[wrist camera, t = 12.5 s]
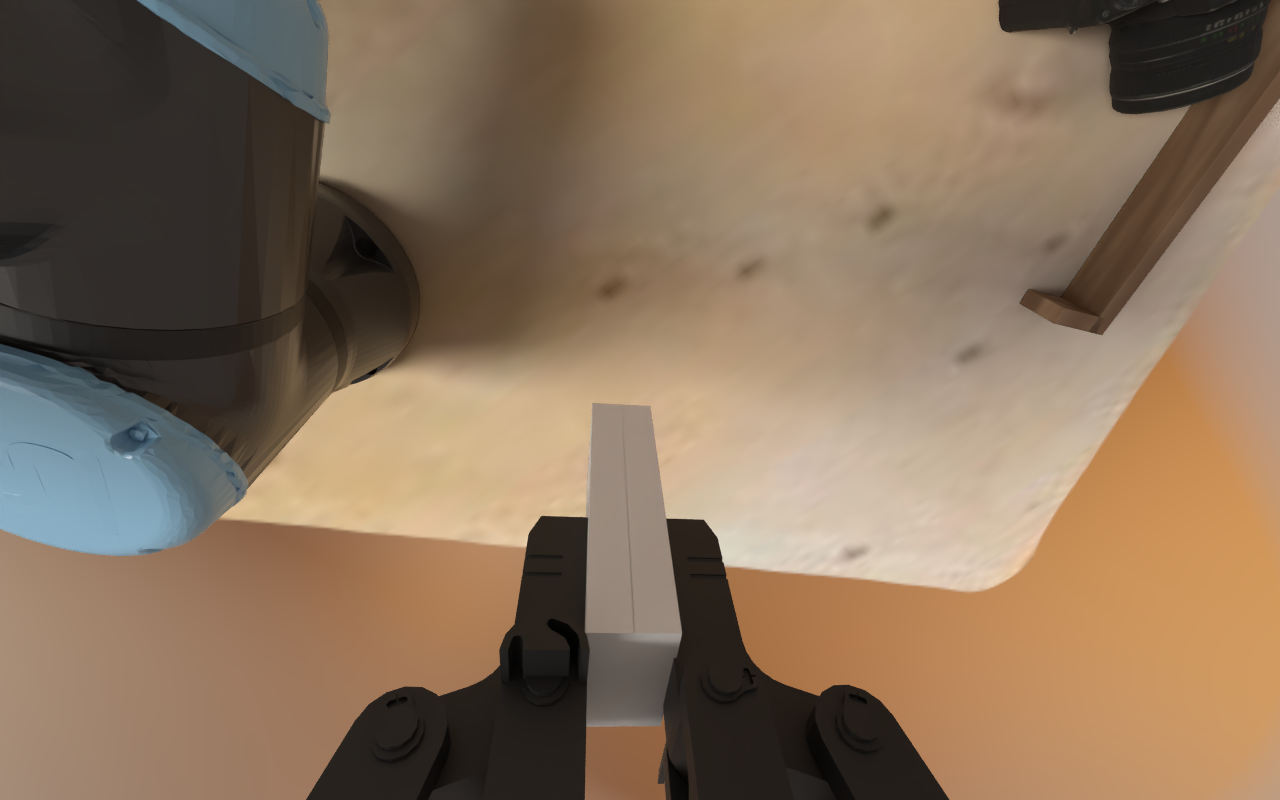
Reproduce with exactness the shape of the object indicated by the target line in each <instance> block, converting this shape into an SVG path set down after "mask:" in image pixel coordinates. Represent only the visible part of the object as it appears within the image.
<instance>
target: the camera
mask: <svg viewBox="0 0 1280 800" xmlns="http://www.w3.org/2000/svg"><path fill="white" fill-rule="evenodd" d="M1270 1H1271V0H999V22H1000V26H1001V28H1002V30H1004V31H1006V32H1013V31H1022V30H1036V29H1046V28H1058V27H1061V28H1067V29H1069V31H1070V34H1073V33H1076V31H1077V29H1078V28H1082V27H1087V26H1096V25H1102V24H1109V25H1110V26H1111V27H1112V33H1111V37H1110V40H1109V47H1110V53H1109V58H1110V63H1111V74H1110V94H1111V97H1112V107H1113V109H1115V110H1116V111H1117V112H1120V113H1124V114H1142V113H1151V112H1160V111H1166V110H1172V109H1177V108H1181V107H1185V106H1189V105H1193V104H1197V103H1200V102H1203V101H1206V100H1209V99H1212V98H1215V97H1218V96H1220V95H1223V94H1225V93H1227V92H1230V91H1232V90H1234V89H1236V88H1237V87H1239V86H1240V85H1242V84H1243V83H1244V82H1246V81H1247V80H1248V79H1249V78H1250V76H1251V75H1252V71H1253V67H1254V63H1255V60H1256V59H1257V57H1258V56H1259V53H1260V50H1261V43H1262V37H1263V29H1262V25H1263V23H1264V21H1265V18H1266V15H1267V12H1268V5H1269V3H1270Z"/></svg>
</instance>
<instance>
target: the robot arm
mask: <svg viewBox="0 0 1280 800" xmlns="http://www.w3.org/2000/svg"><path fill="white" fill-rule="evenodd" d="M328 39H329V32H328V25H327V21H326V17H325V14H324V12H323V9H322V7H321V5H320V3H319V1H318V0H0V529H2V530H4V531H7V532H10V533H12V534H15V535H18V536H21V537H23V538H27V539H29V540H33V541H36V542H39V543H43V544H46V545H50V546H54V547H58V548H63V549H68V550H73V551H77V552H84V553H91V554H100V555H115V556H129V555H144V554H150V553H154V552H158V551H161V550H164V549H167V548H172V547H176V546H180V545H183V544H185V543H187V542H189V541H191V540H192V539H194V538H195V537H197V536H199V535H200V534H201V533H203V532H204V531H205V530H206V529H207V528H208V527H209V526H210V525H211V524H212V523H214V522H215V521H216V520H217V519H218V518H219V517H220V516H222V515H223V514H224V513H225V512H226V511H227V510H229V509H230V508H231V507H232V506H234V505H236V504H237V503H238V502H239V501H240V500H241V499H243V498H244V496H245V495H246V493H247V489H248V488H249V486H250V485H251V484H252V483H253V482H254V481H255V480H256V478H257V477H258V476H259V475H260V474H261V473H262V472H263V470H264V469H265V468H266V467H267V466H268V465H269V464H270V463H271V461H272V460H273V459H274V458H275V457H276V456H277V455H278V453H279V452H280V451H281V450H282V449H283V448H284V447H285V445H286V444H287V443H288V442H289V441H290V440H291V439H292V437H293V436H294V435H295V434H296V433H297V432H298V431H299V429H300V428H301V427H302V426H303V425H304V424H305V423H306V421H307V420H308V419H309V418H310V417H311V416H312V415H313V413H314V412H315V411H316V410H317V409H318V408H319V407H320V405H321V404H322V403H323V402H324V401H325V400H326V399H327V398H328V397H329V396H330V394H331V393H333V392H335V391H338V390H341V389H343V388H346V387H347V386H349V385H351V384H355V383H358V382H361V381H363V380H366V379H368V378H371V377H373V376H374V375H376V374H378V373H379V372H381V371H382V370H384V369H385V368H386V367H388V366H389V365H390V364H391V363H392V362H393V361H394V360H395V359H396V358H397V356H398V355H399V354H400V353H401V351H402V350H403V349H404V348H405V346H406V345H407V344H408V342H409V341H410V339H411V337H412V335H413V333H414V331H415V328H416V325H417V321H418V317H419V308H420V298H419V290H418V284H417V280H416V276H415V273H414V270H413V268H412V265H411V263H410V261H409V259H408V257H407V255H406V253H405V251H404V250H403V248H402V246H401V245H400V243H399V242H398V240H397V239H396V238H395V236H394V235H393V234H392V233H391V231H390V230H389V229H388V228H387V227H386V226H385V225H384V224H383V222H382V221H381V220H380V219H378V218H377V217H376V216H375V215H374V214H373V213H372V212H371V211H369V210H368V209H367V208H366V207H364V206H363V205H362V204H360V203H359V202H357V201H356V200H354V199H353V198H351V197H349V196H347V195H346V194H344V193H342V192H340V191H338V190H336V189H334V188H331V187H329V186H327V185H324V184H321V183H319V174H320V165H321V156H322V146H323V137H324V127H325V123H330V117H331V115H330V112H329V109H328V107H327V106H326V104H325V103H326V82H327V60H328ZM499 651H500V666H499V667H498V668H497V669H496V670H495V671H494V672H493V673H492V674H491V675H489V676H488V677H487V678H485V679H484V680H482V681H480V682H478V683H476V684H474V685H471V686H469V687H466V688H463V689H460V690H457V691H454V692H451V693H448V694H444V695H442V696H437V694H435V693H433V692H431V691H429V690H427V689H425V688H423V687H402V688H399V689H396V690H393V691H390V692H386V693H385V694H383V695H382V696H381V697H379V698H378V699H376V700H375V701H373V702H372V703H370V704H369V705H368V706H367V707H366V709H365V710H364V711H363V712H362V713H361V715H360V716H359V717H358V718H357V719H356V720H355V722H354V723H353V725H352V727H351V728H350V730H349V731H348V733H347V735H346V736H345V738H344V739H343V741H342V743H341V745H340V746H339V747H338V749H337V751H336V752H335V754H334V756H333V757H332V759H331V760H330V762H329V764H328V765H327V767H326V769H325V770H324V772H323V773H322V775H321V777H320V778H319V780H318V781H317V783H316V785H315V786H314V788H313V790H312V791H311V793H310V794H309V796H308V798H307V799H306V800H584V799H585V754H586V726H587V727H588V726H661V722H662V718H663V714H664V720H665V732H666V744H665V748H664V752H663V756H662V760H661V764H660V768H659V776H658V784H663V783H664V781H665V792H666V800H949V799H948V797H947V796H946V794H945V793H944V791H943V790H942V788H941V787H940V785H939V784H938V782H937V781H936V779H935V778H934V776H933V775H932V773H931V772H930V770H929V769H928V767H927V766H926V764H925V763H924V761H923V760H922V758H921V757H920V755H919V754H918V752H917V751H916V749H915V748H914V746H913V745H912V743H911V742H910V740H909V739H908V737H907V736H906V734H905V733H904V732H903V730H902V728H901V727H900V725H899V724H898V722H897V721H896V719H895V718H894V716H893V715H892V714H891V713H890V712H889V710H888V709H887V708H886V707H885V706H884V705H883V704H882V702H880V700H878V699H877V698H875V697H874V696H872V695H871V694H869V693H868V692H866V691H865V690H863V689H859V688H856V687H853V686H850V685H833V686H832V687H830V688H828V689H827V690H825V691H823V692H822V693H821V695H820V696H817V695H814V694H811V693H808V692H805V691H802V690H799V689H796V688H793V687H790V686H787V685H784V684H782V683H780V682H778V681H776V680H773V679H772V678H770V677H769V676H768V675H766V674H765V673H763V672H762V671H761V670H760V669H759V668H758V667H757V666H756V665H755V664H754V663H753V661H752V660H751V658H750V657H749V655H748V654H747V652H746V650H745V647H744V644H743V642H742V638H741V634H740V630H739V625H738V621H737V617H736V613H735V609H734V605H733V601H732V597H731V592H730V588H729V584H728V580H727V579H726V572H725V567H724V563H723V562H722V555H721V551H720V547H719V543H718V538H717V537H716V535H715V534H714V533H713V531H712V530H711V529H710V527H709V526H708V525H707V523H706V522H705V521H704V520H693V519H666V515H665V508H664V501H663V493H662V486H661V479H660V472H659V465H658V458H657V451H656V443H655V436H654V429H653V422H652V415H651V408H650V406H637V405H618V404H600V403H592V417H591V433H590V448H589V463H588V478H587V501H586V517H557V516H541V517H540V519H539V520H538V522H537V523H536V524H535V526H534V527H533V529H532V530H531V531H530V533H529V535H528V542H527V548H526V555H525V561H524V568H523V576H522V580H521V587H520V593H519V600H518V606H517V612H516V619H515V625H514V626H513V627H512V628H511V629H510V630H509V631H508V632H507V633H506V634H505V637H504V639H503V642H502V644H501V647H500V650H499Z"/></svg>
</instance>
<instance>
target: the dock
mask: <svg viewBox="0 0 1280 800" xmlns="http://www.w3.org/2000/svg"><path fill="white" fill-rule="evenodd" d="M1262 29H1263V37H1262V43H1261V50H1260V53H1259V56H1258V57H1257V59H1256V60H1255V63H1254V67H1253V71H1252V75H1251V76H1250V78H1249V79H1248V80H1247V81H1246V82H1244V83H1243V84H1242V85H1240V86H1239V87H1237V88H1236V89H1234V90H1232V91H1230V92H1227V93H1225V94H1223V95H1220V96H1218V97H1215V98H1212V99H1209V100H1206V101H1203V102H1200V103H1197V104H1193V105H1192V106H1191V107H1190V109H1189V110H1188V111H1187V113H1186V114H1185V116H1184V117H1183V119H1182V120H1181V122H1180V123H1179V125H1178V126H1177V128H1176V129H1175V131H1174V132H1173V134H1172V135H1171V136H1170V138H1169V139H1168V141H1167V142H1166V144H1165V145H1164V147H1163V148H1162V150H1161V151H1160V153H1159V154H1158V156H1157V157H1156V159H1155V160H1154V161H1153V163H1152V164H1151V166H1150V167H1149V169H1148V170H1147V172H1146V173H1145V175H1144V176H1143V178H1142V179H1141V181H1140V182H1139V184H1138V185H1137V186H1136V188H1135V189H1134V191H1133V192H1132V194H1131V195H1130V197H1129V198H1128V200H1127V201H1126V203H1125V204H1124V206H1123V207H1122V209H1121V210H1120V212H1119V213H1118V214H1117V216H1116V217H1115V219H1114V220H1113V222H1112V223H1111V225H1110V226H1109V228H1108V229H1107V231H1106V232H1105V234H1104V235H1103V237H1102V238H1101V239H1100V241H1099V242H1098V244H1097V245H1096V247H1095V248H1094V250H1093V251H1092V253H1091V254H1090V256H1089V257H1088V259H1087V260H1086V262H1085V263H1084V264H1083V266H1082V267H1081V269H1080V270H1079V272H1078V273H1077V275H1076V276H1075V278H1074V279H1073V281H1072V282H1071V284H1070V285H1069V287H1068V288H1067V289H1066V291H1065V292H1064V294H1063V295H1062V297H1057V296H1053V295H1049V294H1045V293H1041V292H1037V291H1034V290H1030V289H1028V291H1027V292H1026V294H1025V295H1024V297H1023V299H1022V300H1021V302H1020V304H1022V305H1023V306H1025V307H1027V308H1028V309H1030V310H1032V311H1034V312H1035V313H1037V314H1039V315H1040V316H1042V317H1044V318H1046V319H1047V320H1049V321H1051V322H1052V323H1055V324H1059V325H1063V326H1067V327H1071V328H1075V329H1079V330H1083V331H1087V332H1091V333H1095V334H1099V335H1103V333H1104V332H1105V331H1106V329H1107V328H1108V327H1109V325H1110V324H1111V323H1112V321H1113V320H1114V319H1115V317H1116V316H1117V315H1118V313H1119V312H1120V311H1121V309H1122V308H1123V307H1124V305H1125V304H1126V303H1127V301H1128V300H1129V299H1130V297H1131V296H1132V295H1133V293H1134V292H1135V291H1136V289H1137V288H1138V287H1139V285H1140V284H1141V283H1142V281H1143V280H1144V279H1145V277H1146V276H1147V275H1148V273H1149V272H1150V271H1151V269H1152V268H1153V267H1154V265H1155V264H1156V263H1157V261H1158V260H1159V258H1160V257H1161V256H1162V254H1163V253H1164V252H1165V250H1166V249H1167V248H1168V246H1169V245H1170V244H1171V242H1172V241H1173V240H1174V238H1175V237H1176V236H1177V234H1178V233H1179V232H1180V230H1181V229H1182V228H1183V226H1184V225H1185V224H1186V222H1187V221H1188V220H1189V218H1190V217H1191V216H1192V214H1193V213H1194V212H1195V210H1196V209H1197V208H1198V206H1199V205H1200V204H1201V202H1202V201H1203V200H1204V198H1205V197H1206V196H1207V194H1208V193H1209V192H1210V190H1211V189H1212V188H1213V186H1214V185H1215V184H1216V182H1217V181H1218V180H1219V178H1220V177H1221V176H1222V174H1223V173H1224V172H1225V170H1226V169H1227V168H1228V166H1229V165H1230V164H1231V162H1232V161H1233V160H1234V158H1235V157H1236V156H1237V154H1238V153H1239V152H1240V150H1241V149H1242V148H1243V146H1244V145H1245V144H1246V142H1247V141H1248V140H1249V138H1250V137H1251V136H1252V134H1253V133H1254V132H1255V130H1256V129H1257V128H1258V126H1259V125H1260V124H1261V122H1262V121H1263V120H1264V118H1265V117H1266V116H1267V114H1268V113H1269V112H1270V110H1271V109H1272V108H1273V106H1274V105H1275V104H1276V102H1277V101H1278V100H1279V98H1280V0H1271V1H1270V3H1269V5H1268V12H1267V15H1266V18H1265V21H1264V23H1263V25H1262Z"/></svg>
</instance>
